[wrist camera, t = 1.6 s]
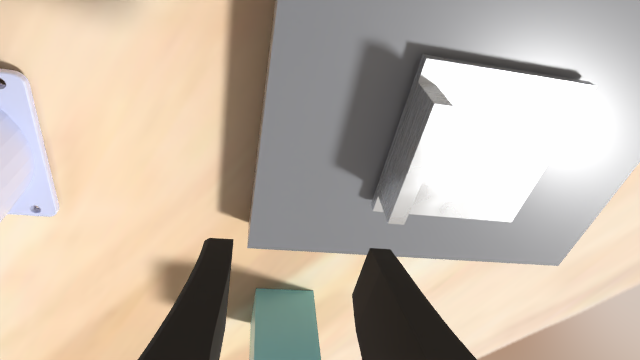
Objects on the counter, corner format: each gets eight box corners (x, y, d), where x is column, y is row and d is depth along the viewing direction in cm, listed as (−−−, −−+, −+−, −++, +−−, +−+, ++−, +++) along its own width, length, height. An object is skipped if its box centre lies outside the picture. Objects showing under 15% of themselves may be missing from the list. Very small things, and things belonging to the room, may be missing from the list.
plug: (250, 323, 30) (246, 425, 24) (256, 288, 27) (253, 392, 22) (303, 324, 30) (311, 423, 25) (313, 290, 28) (324, 391, 23)
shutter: (370, 204, 21) (381, 239, 19) (422, 54, 16) (444, 78, 14) (507, 216, 22) (530, 249, 20) (589, 81, 18) (630, 106, 16)
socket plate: (248, 223, 24) (247, 248, 22) (287, -101, 15) (289, -99, 13) (541, 243, 28) (558, 265, 26) (717, -2, 18) (759, 9, 17)
